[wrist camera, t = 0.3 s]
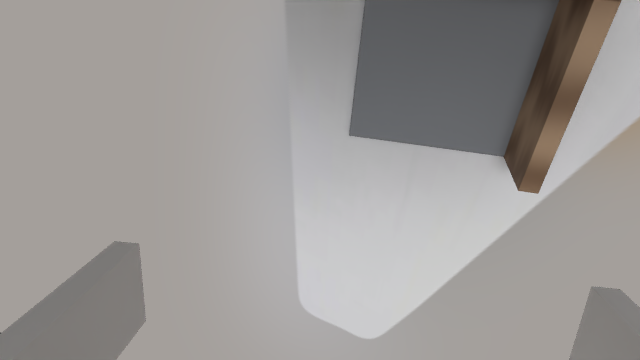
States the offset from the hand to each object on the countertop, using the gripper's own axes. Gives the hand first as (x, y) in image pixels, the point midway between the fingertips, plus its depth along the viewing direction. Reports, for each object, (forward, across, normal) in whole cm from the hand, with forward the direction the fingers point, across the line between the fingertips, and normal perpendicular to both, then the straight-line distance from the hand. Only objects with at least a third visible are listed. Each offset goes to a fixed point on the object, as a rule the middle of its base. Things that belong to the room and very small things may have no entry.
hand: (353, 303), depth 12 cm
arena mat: (+26, +7, +6) cm, 27 cm away
